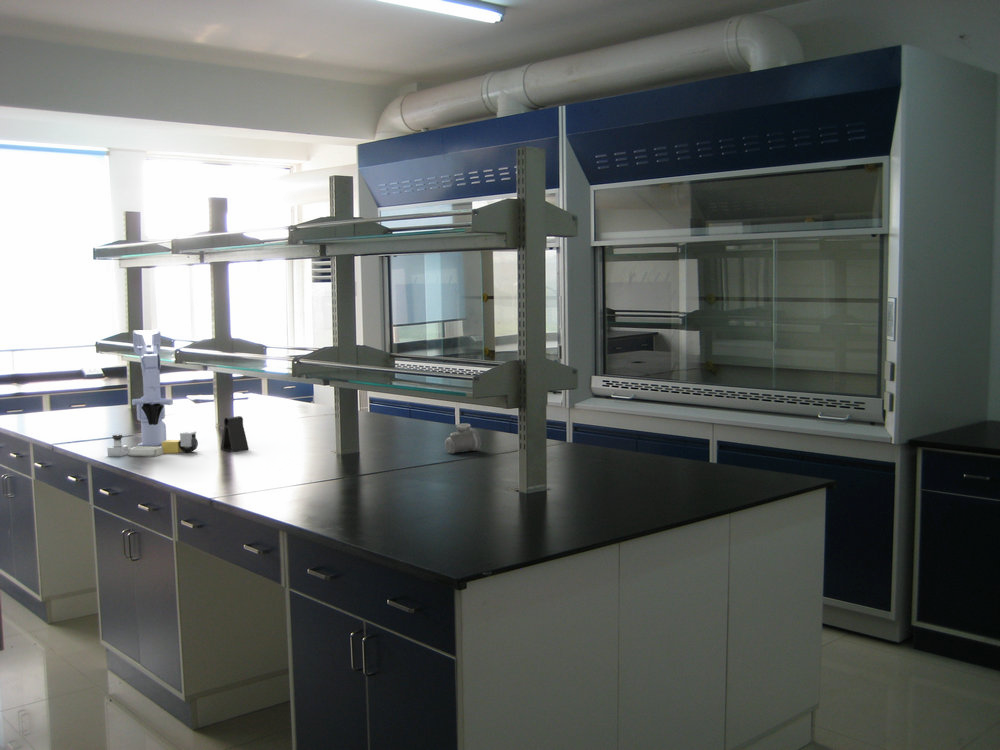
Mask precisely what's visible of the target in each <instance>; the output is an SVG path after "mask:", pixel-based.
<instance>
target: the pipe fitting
mask: <svg viewBox="0 0 1000 750" xmlns="http://www.w3.org/2000/svg"><path fill="white" fill-rule="evenodd" d="M455 427H456V430H457V431H455V432H451V433H450V435H449V437H447V438H446V439H445V440H444V448H445V451H446V452H447V453H448V454H451V455H453V454H456V453H460V452H461V453H462V452H463V451H470V452H475V451H478V450H479V449H480V448H481V444H482V443H481V442H482V441H481V437H480V434H479V432H478V431H477V430H476V429H475V428H471V427H472V426H471V424H470V423H463V422H462V423H458V424H457V425H456V426H455Z"/></svg>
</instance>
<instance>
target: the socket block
mask: <svg viewBox="0 0 1000 750" xmlns="http://www.w3.org/2000/svg"><path fill="white" fill-rule="evenodd" d="M121 445H122V447H114V445H111V446H109V447H107V456H108V457H123V456H125V455H129V453H128V449H129V445H128V444H127V445H124V444H121Z"/></svg>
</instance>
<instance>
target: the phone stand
mask: <svg viewBox="0 0 1000 750" xmlns="http://www.w3.org/2000/svg"><path fill="white" fill-rule="evenodd" d="M223 423H224V426H223V431H222V437H221V444H220V450H222V451H227V452H232V453H235V452H242V451H243V452H244V451H248V450H249V449H250V448H249V445H248V444H249V443H248V441H247V436H246V431H245V428H244V418H243V416H241V415H240V416H239V415H238V416H231V417H225V418H224V420H223Z"/></svg>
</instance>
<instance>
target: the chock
mask: <svg viewBox="0 0 1000 750" xmlns="http://www.w3.org/2000/svg"><path fill="white" fill-rule="evenodd" d="M179 441H180V439H166V441H163V442H162V444H161V447H163V448H164V453H163V454H179V453H182V452H183V451H182V450H181V449H180V447H179Z"/></svg>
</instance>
